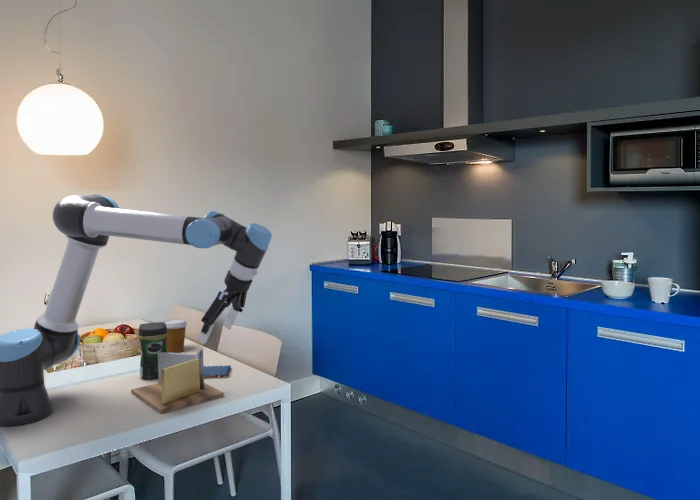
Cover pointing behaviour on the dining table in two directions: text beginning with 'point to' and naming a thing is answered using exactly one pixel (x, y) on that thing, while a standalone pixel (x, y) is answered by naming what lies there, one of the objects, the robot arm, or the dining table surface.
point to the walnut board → (154, 400)
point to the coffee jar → (151, 347)
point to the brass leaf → (180, 380)
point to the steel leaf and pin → (176, 358)
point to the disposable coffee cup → (175, 335)
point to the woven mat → (216, 371)
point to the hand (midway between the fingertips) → (214, 333)
